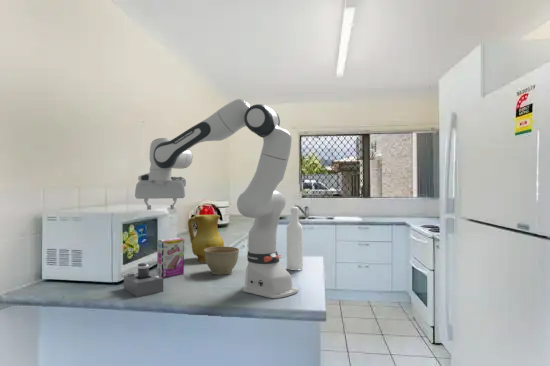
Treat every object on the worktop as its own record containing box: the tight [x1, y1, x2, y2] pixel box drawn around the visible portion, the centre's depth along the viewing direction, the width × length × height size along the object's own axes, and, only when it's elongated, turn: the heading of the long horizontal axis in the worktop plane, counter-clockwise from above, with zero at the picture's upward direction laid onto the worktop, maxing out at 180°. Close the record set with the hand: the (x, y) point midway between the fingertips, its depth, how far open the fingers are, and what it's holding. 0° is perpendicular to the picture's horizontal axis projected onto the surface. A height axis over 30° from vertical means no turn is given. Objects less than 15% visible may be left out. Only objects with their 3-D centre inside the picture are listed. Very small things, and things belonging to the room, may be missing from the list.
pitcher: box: [187, 214, 225, 263], centre depth 195 cm, size 17×19×25 cm
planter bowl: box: [204, 246, 240, 276], centre depth 166 cm, size 16×16×11 cm
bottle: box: [286, 206, 304, 270], centre depth 173 cm, size 8×8×30 cm
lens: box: [137, 262, 150, 280], centre depth 139 cm, size 4×4×8 cm
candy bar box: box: [156, 237, 185, 279], centre depth 161 cm, size 11×5×16 cm, turn 137°
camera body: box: [123, 271, 164, 298], centre depth 139 cm, size 14×10×6 cm
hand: (160, 209), depth 151 cm, fingers open, 8 cm apart
